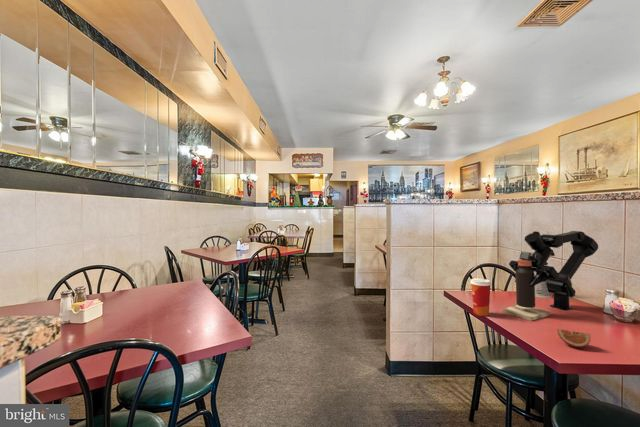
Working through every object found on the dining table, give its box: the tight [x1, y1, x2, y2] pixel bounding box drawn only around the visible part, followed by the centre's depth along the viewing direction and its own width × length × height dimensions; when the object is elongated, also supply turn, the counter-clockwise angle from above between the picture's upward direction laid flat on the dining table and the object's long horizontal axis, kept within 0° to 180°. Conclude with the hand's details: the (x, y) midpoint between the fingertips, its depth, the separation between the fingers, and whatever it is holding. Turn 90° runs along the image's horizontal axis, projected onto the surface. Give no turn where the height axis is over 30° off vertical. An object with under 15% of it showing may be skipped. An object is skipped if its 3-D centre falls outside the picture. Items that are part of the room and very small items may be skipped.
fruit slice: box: [556, 328, 591, 349], centre depth 98 cm, size 8×7×5 cm
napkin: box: [501, 304, 551, 322], centre depth 128 cm, size 14×12×2 cm
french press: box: [535, 280, 553, 299], centre depth 155 cm, size 10×12×25 cm
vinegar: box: [515, 259, 536, 308], centre depth 128 cm, size 7×7×20 cm
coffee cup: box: [469, 277, 492, 317], centre depth 129 cm, size 8×8×15 cm
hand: (523, 284), depth 127 cm, fingers closed on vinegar, 6 cm apart
